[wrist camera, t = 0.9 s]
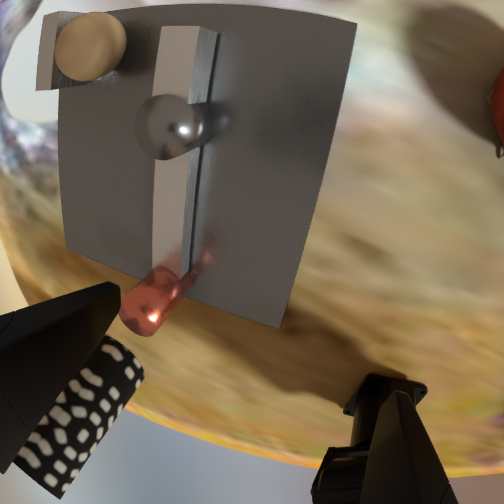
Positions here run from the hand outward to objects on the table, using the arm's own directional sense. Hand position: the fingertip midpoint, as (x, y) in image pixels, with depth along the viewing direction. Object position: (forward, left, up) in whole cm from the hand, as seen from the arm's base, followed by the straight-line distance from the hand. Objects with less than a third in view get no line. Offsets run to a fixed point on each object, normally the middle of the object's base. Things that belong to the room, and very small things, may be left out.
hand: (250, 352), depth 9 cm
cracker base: (+1, +11, -14) cm, 17 cm away
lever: (0, +9, -12) cm, 15 cm away
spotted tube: (-26, +18, -14) cm, 35 cm away
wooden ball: (+9, +16, -14) cm, 22 cm away
